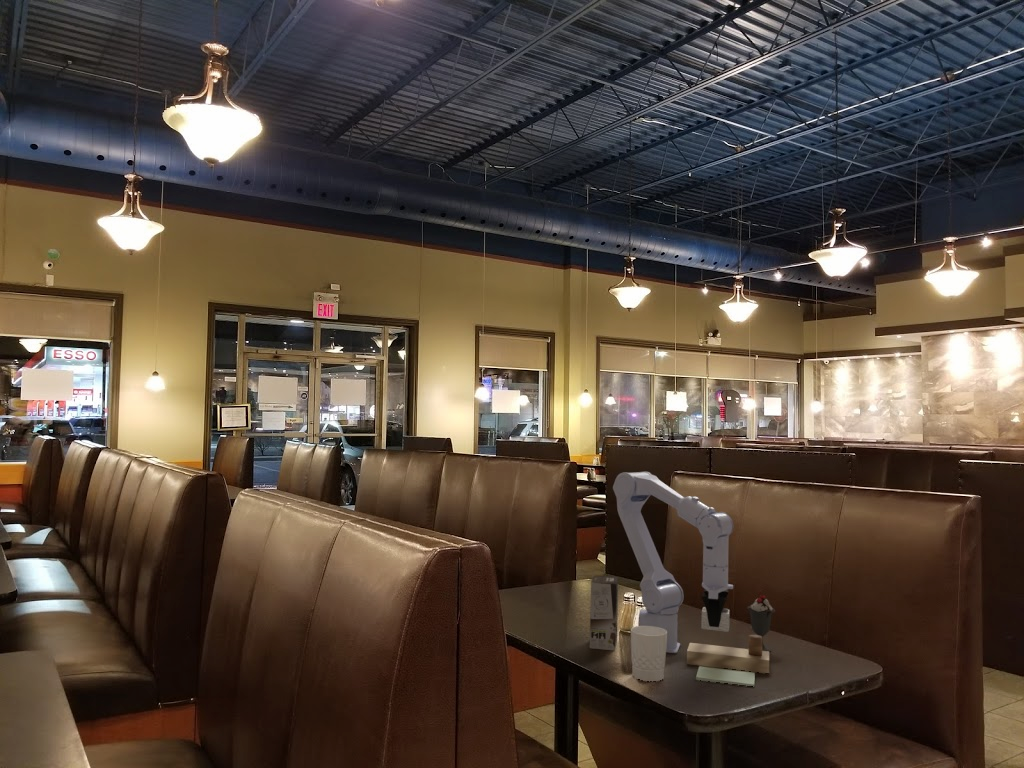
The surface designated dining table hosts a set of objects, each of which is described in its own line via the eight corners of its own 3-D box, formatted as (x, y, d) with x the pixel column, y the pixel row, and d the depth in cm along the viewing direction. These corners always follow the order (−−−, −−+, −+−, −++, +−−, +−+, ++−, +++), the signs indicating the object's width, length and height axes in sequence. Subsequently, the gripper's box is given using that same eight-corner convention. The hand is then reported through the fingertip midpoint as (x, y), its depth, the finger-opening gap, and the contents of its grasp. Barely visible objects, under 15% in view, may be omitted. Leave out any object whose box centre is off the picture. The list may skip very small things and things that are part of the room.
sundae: (756, 654, 184) (757, 592, 184) (741, 646, 190) (741, 586, 191) (780, 653, 185) (780, 591, 186) (764, 645, 192) (764, 585, 192)
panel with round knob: (686, 663, 175) (687, 633, 176) (689, 655, 182) (690, 625, 182) (769, 673, 169) (769, 642, 170) (769, 664, 176) (769, 634, 176)
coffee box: (615, 651, 184) (616, 583, 185) (588, 648, 185) (590, 582, 186) (617, 640, 193) (619, 576, 194) (592, 638, 194) (593, 574, 195)
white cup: (641, 668, 171) (641, 623, 172) (673, 676, 166) (673, 630, 167) (623, 677, 165) (623, 630, 166) (655, 685, 160) (656, 637, 161)
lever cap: (701, 628, 176) (701, 608, 176) (702, 624, 180) (703, 604, 180) (728, 631, 174) (728, 611, 174) (729, 627, 178) (729, 607, 178)
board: (696, 679, 164) (696, 677, 164) (699, 668, 172) (699, 666, 172) (754, 687, 161) (754, 684, 161) (754, 675, 168) (754, 672, 168)
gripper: (731, 572, 170) (731, 633, 169) (734, 561, 183) (734, 618, 183) (699, 569, 172) (698, 630, 171) (704, 558, 186) (703, 615, 185)
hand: (714, 623), depth 177 cm, fingers closed on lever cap, 4 cm apart
